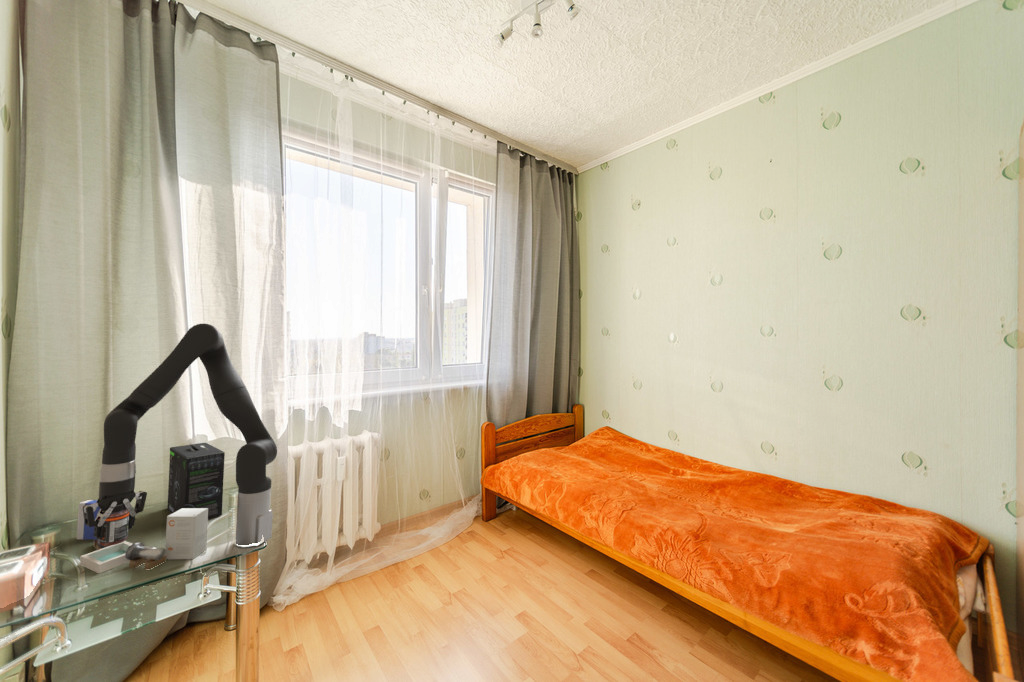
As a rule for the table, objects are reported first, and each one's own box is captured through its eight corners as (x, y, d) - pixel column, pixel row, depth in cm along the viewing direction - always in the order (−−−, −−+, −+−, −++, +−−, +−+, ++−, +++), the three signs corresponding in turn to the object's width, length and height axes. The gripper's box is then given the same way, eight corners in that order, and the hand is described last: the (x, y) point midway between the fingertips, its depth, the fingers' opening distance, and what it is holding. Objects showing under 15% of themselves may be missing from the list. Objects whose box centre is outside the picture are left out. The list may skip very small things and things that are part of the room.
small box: (206, 549, 125) (209, 507, 125) (192, 559, 118) (195, 516, 118) (179, 549, 124) (181, 507, 124) (163, 560, 117) (166, 516, 118)
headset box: (165, 508, 152) (169, 441, 152) (203, 499, 161) (207, 436, 162) (182, 526, 138) (186, 453, 138) (223, 516, 148) (226, 447, 148)
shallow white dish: (143, 556, 119) (143, 548, 119) (98, 573, 110) (99, 564, 110) (124, 548, 123) (125, 540, 123) (80, 564, 113) (80, 555, 113)
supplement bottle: (95, 543, 115) (98, 504, 115) (123, 535, 120) (125, 498, 121) (103, 549, 112) (106, 509, 113) (131, 540, 118) (133, 502, 118)
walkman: (110, 535, 130) (112, 499, 130) (102, 539, 127) (104, 502, 127) (85, 535, 130) (87, 498, 130) (76, 539, 127) (78, 502, 127)
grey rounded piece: (167, 562, 116) (168, 542, 117) (151, 570, 112) (152, 550, 112) (141, 558, 117) (142, 539, 118) (124, 567, 113) (125, 547, 113)
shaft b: (92, 545, 124) (93, 526, 124) (113, 539, 127) (114, 521, 127) (97, 555, 118) (98, 535, 118) (118, 549, 122) (119, 530, 122)
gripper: (141, 468, 125) (137, 521, 124) (77, 481, 111) (73, 541, 111) (154, 471, 122) (151, 526, 122) (91, 486, 109) (87, 547, 108)
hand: (114, 533), depth 116 cm, fingers closed on supplement bottle, 6 cm apart
